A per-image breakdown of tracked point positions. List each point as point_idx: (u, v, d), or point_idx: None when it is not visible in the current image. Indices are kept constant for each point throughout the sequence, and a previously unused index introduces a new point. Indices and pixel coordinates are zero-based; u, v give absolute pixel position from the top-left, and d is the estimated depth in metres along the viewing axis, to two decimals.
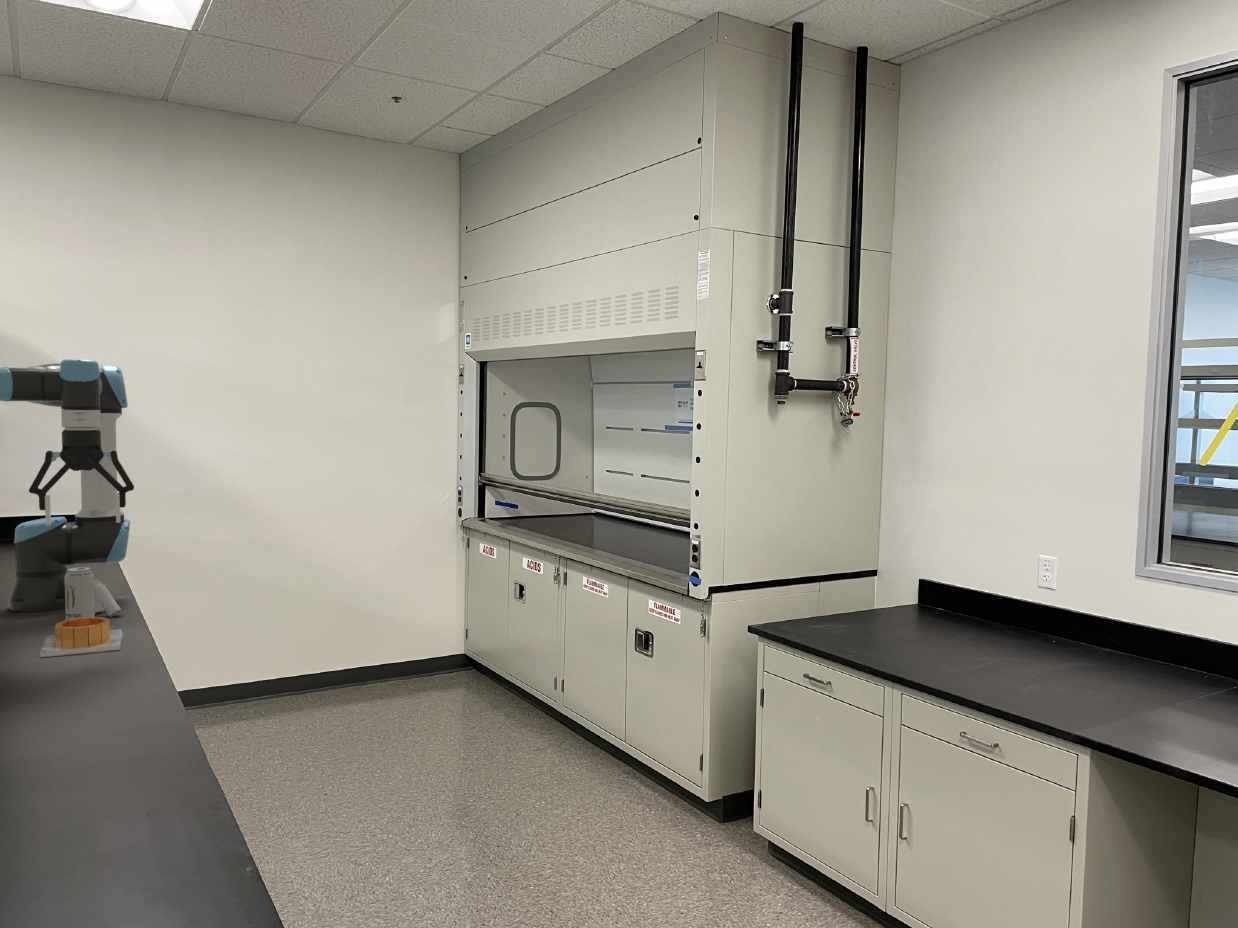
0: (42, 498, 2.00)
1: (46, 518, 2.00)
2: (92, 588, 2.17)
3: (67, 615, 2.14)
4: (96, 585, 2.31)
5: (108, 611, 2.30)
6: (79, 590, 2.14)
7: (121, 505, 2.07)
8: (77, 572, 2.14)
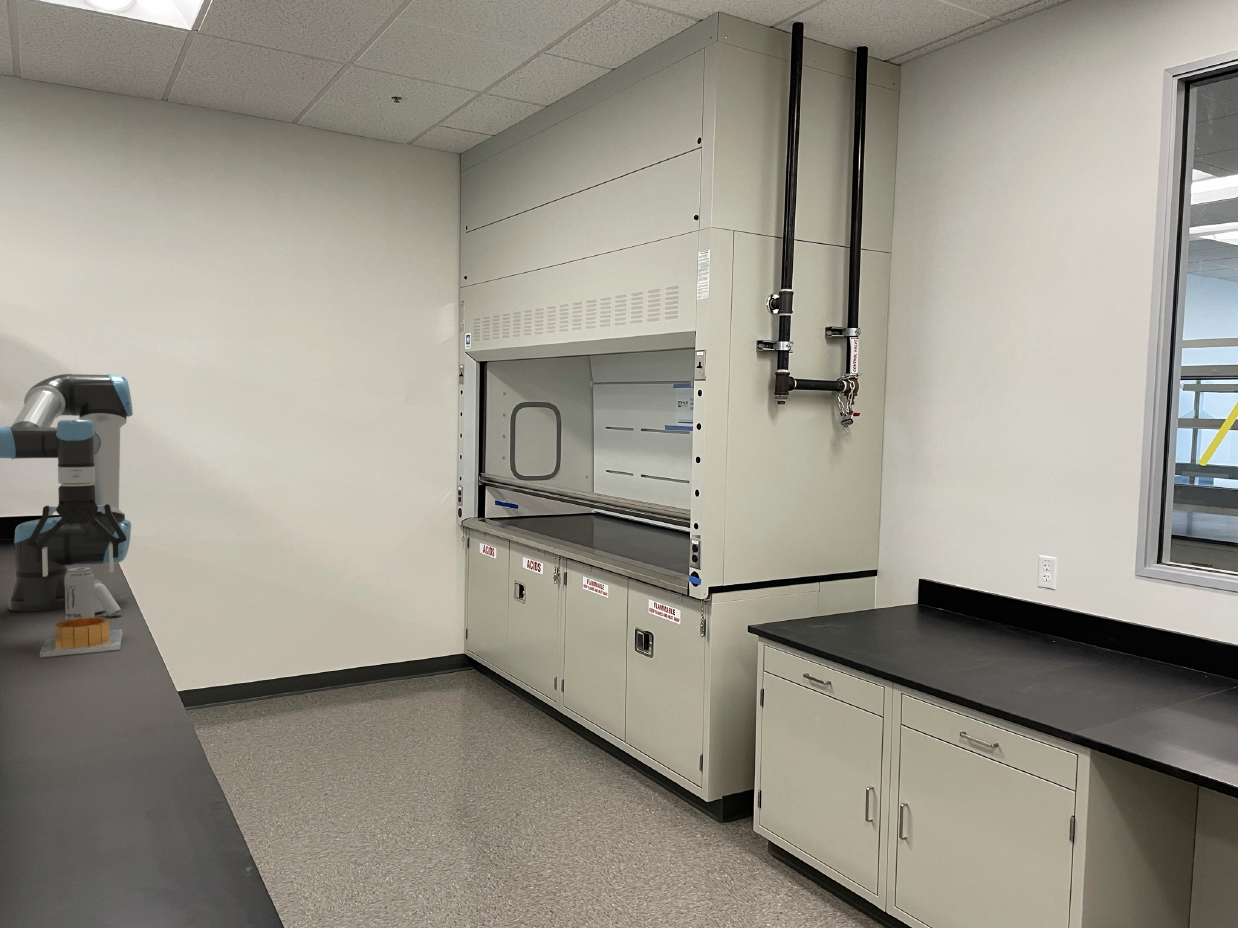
0: (39, 550, 2.12)
1: (43, 569, 2.12)
2: (92, 588, 2.17)
3: (67, 615, 2.14)
4: (96, 585, 2.31)
5: (108, 611, 2.30)
6: (79, 590, 2.14)
7: (114, 555, 2.19)
8: (77, 572, 2.14)
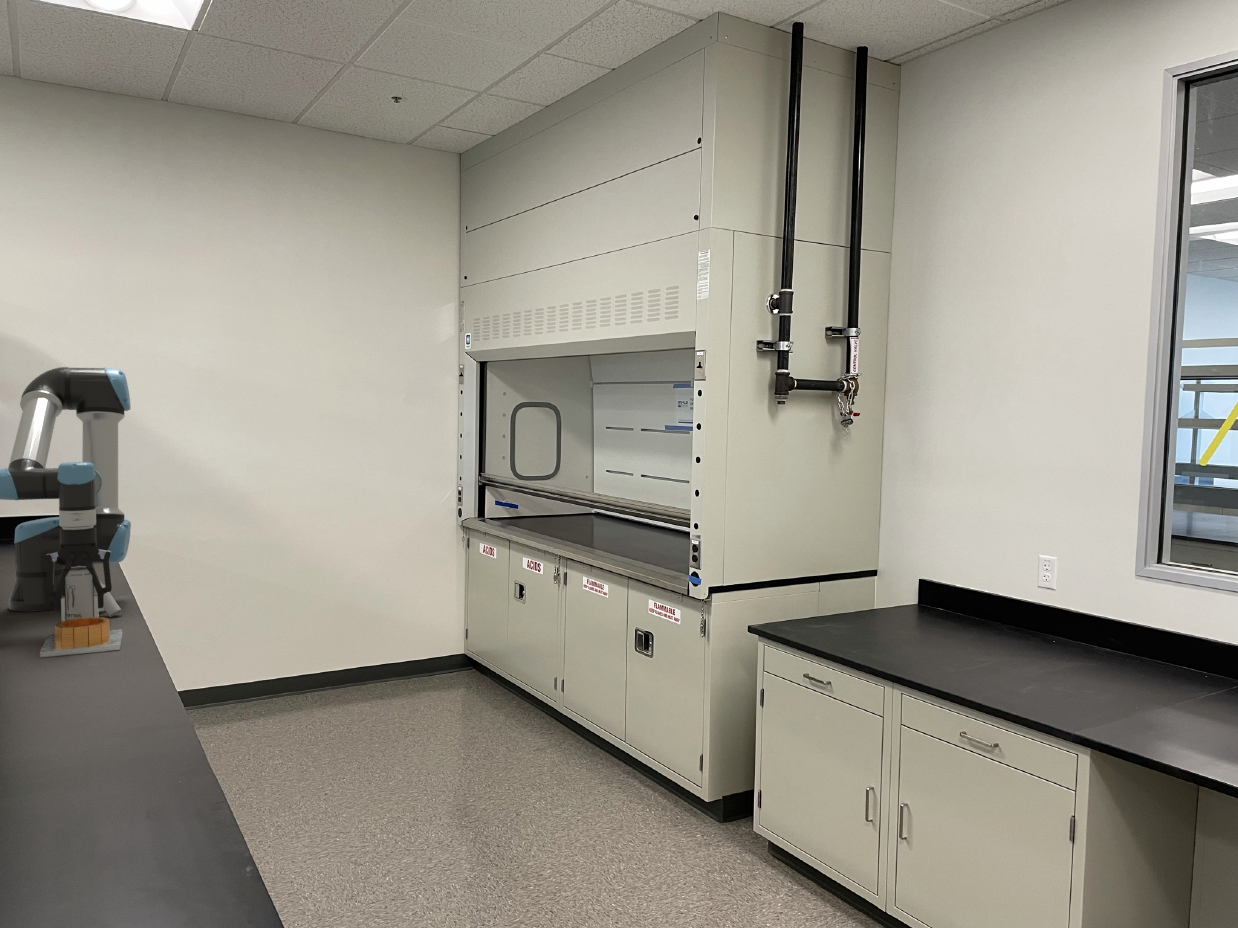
0: (58, 600, 2.14)
1: (62, 619, 2.14)
2: (92, 588, 2.17)
3: (67, 615, 2.14)
4: None
5: (108, 611, 2.30)
6: (79, 590, 2.14)
7: (99, 606, 2.18)
8: (77, 572, 2.14)
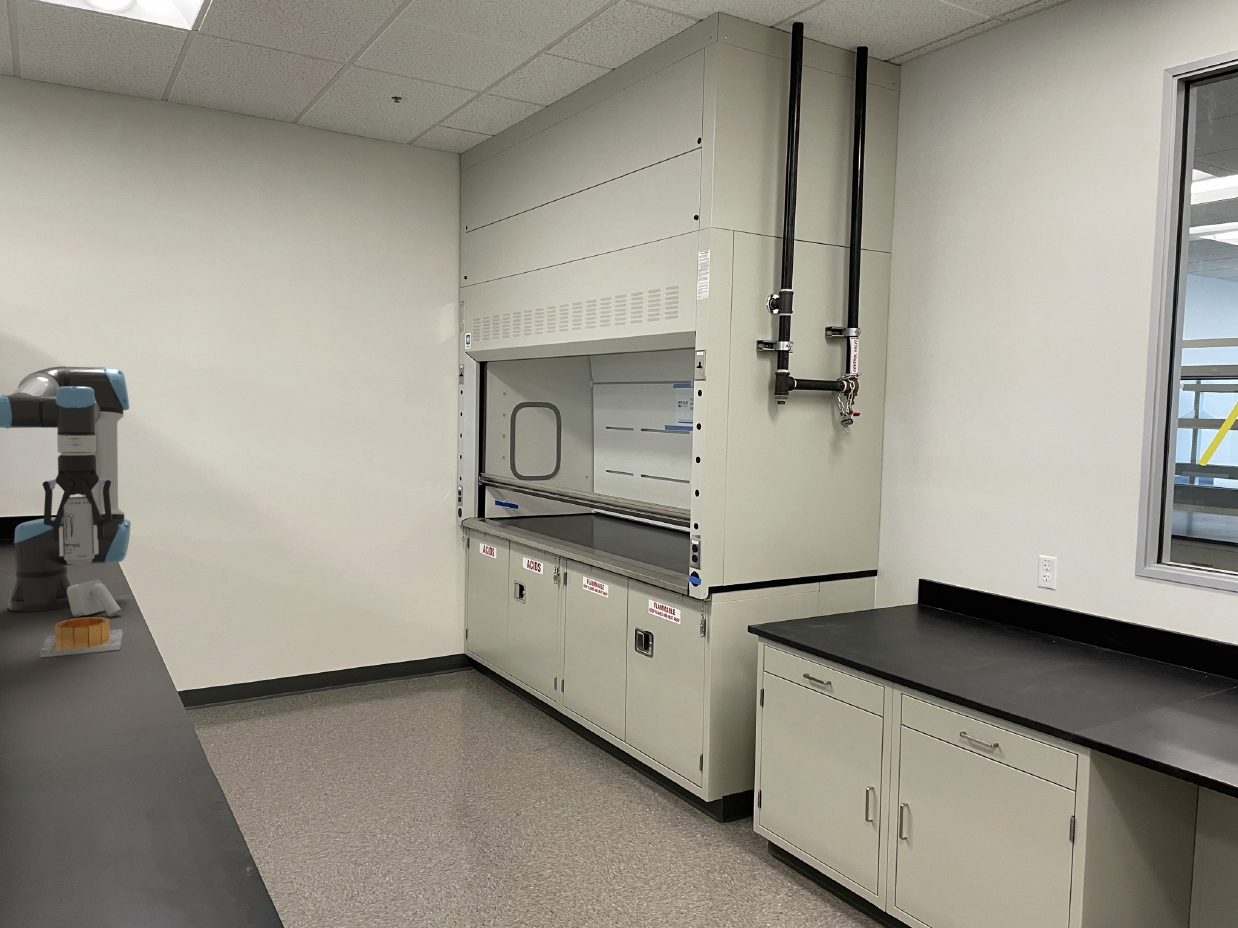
0: (56, 530, 2.06)
1: (60, 549, 2.06)
2: (91, 518, 2.08)
3: (65, 545, 2.06)
4: (96, 585, 2.31)
5: (108, 611, 2.30)
6: (78, 519, 2.06)
7: (99, 537, 2.10)
8: (76, 500, 2.06)
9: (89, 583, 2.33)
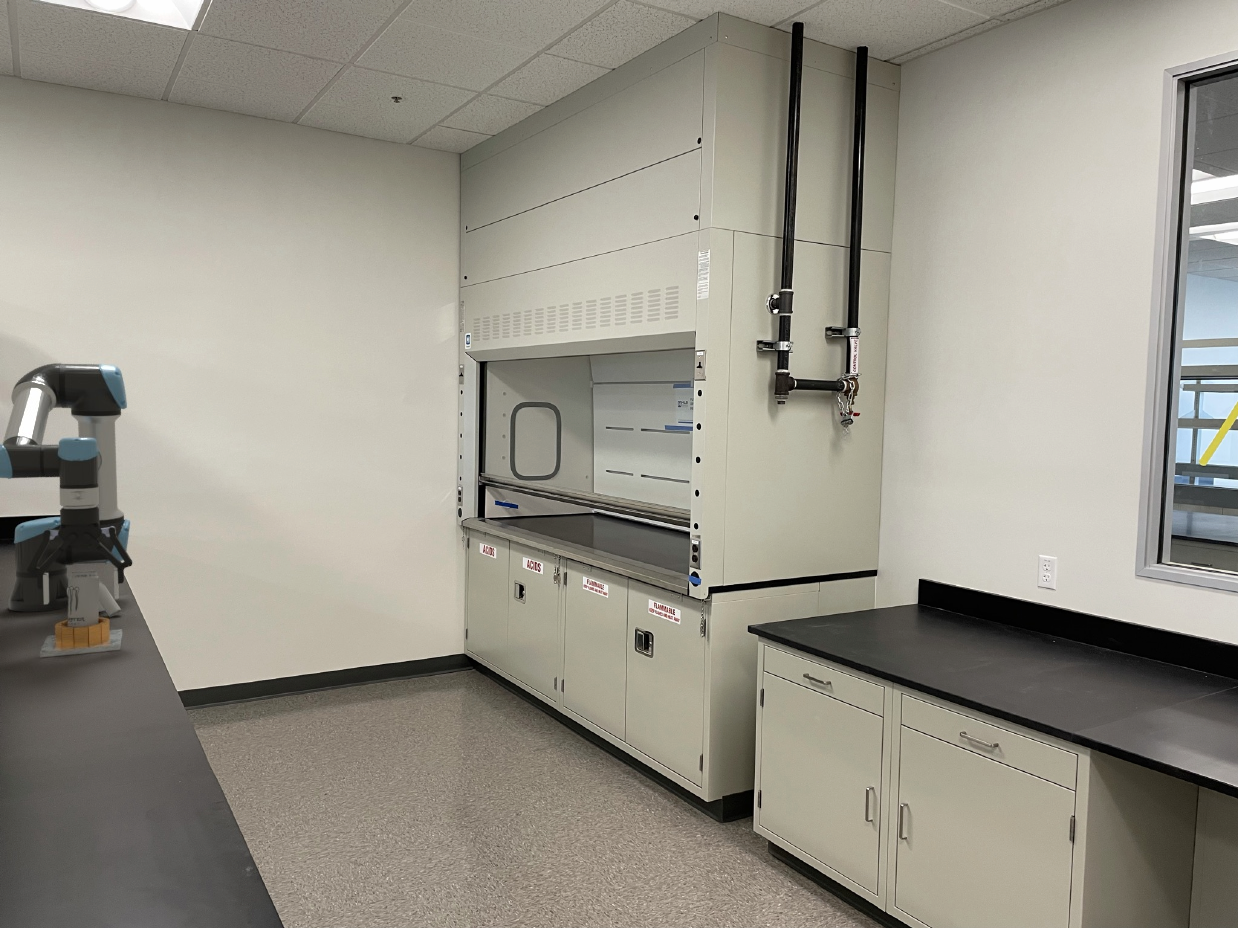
0: (40, 577, 1.99)
1: (44, 597, 1.99)
2: (97, 591, 2.06)
3: (69, 619, 2.02)
4: None
5: (108, 611, 2.30)
6: (83, 592, 2.03)
7: (119, 581, 2.06)
8: (82, 573, 2.04)
9: None
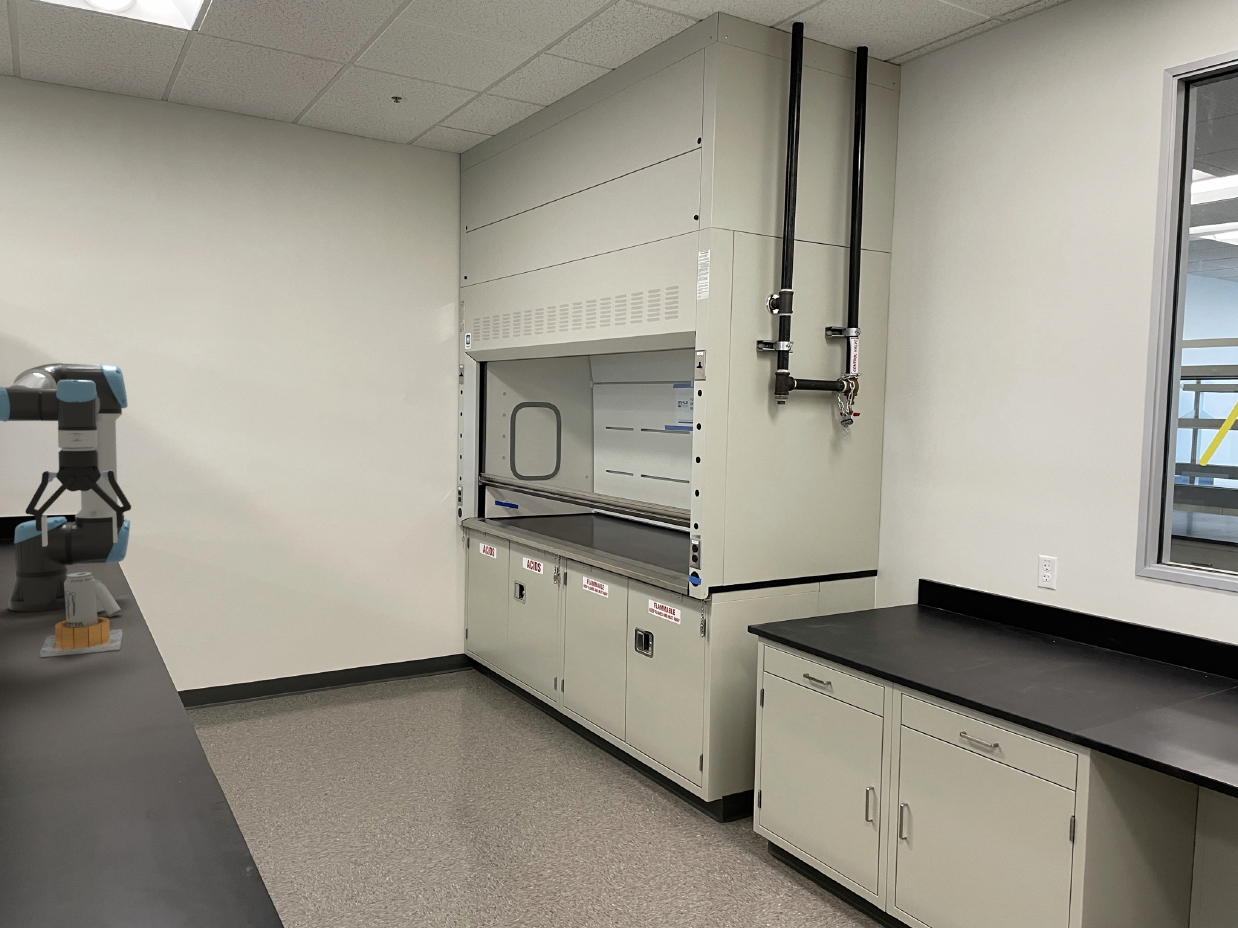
0: (39, 519, 1.99)
1: (43, 539, 1.99)
2: (94, 594, 2.04)
3: (68, 623, 2.02)
4: (96, 585, 2.31)
5: (108, 611, 2.30)
6: (80, 597, 2.01)
7: (118, 525, 2.06)
8: (77, 578, 2.01)
9: None
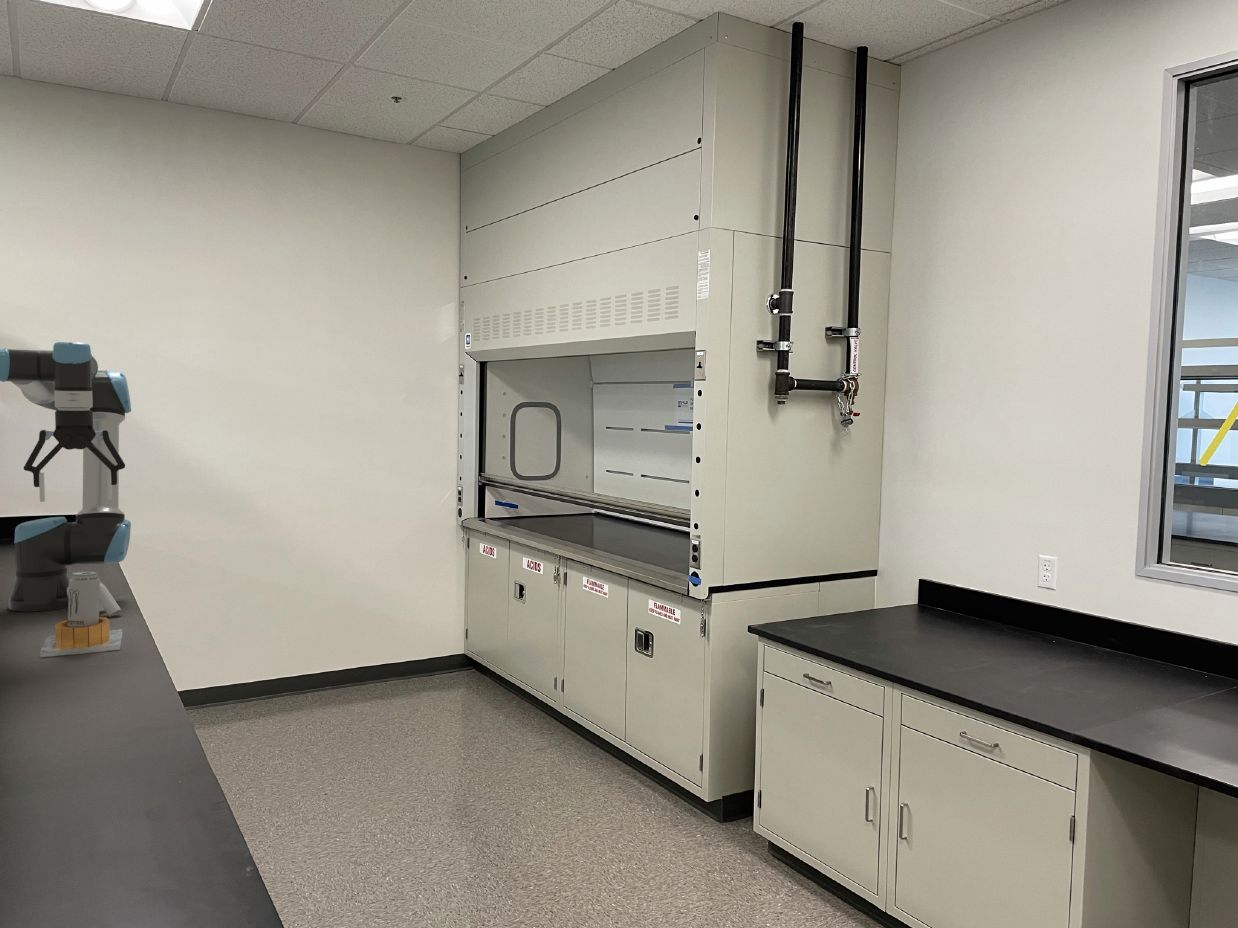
0: (36, 475, 2.07)
1: (40, 495, 2.08)
2: (97, 594, 2.04)
3: (69, 622, 2.02)
4: None
5: (108, 611, 2.30)
6: (83, 595, 2.02)
7: (113, 483, 2.15)
8: (82, 576, 2.02)
9: None
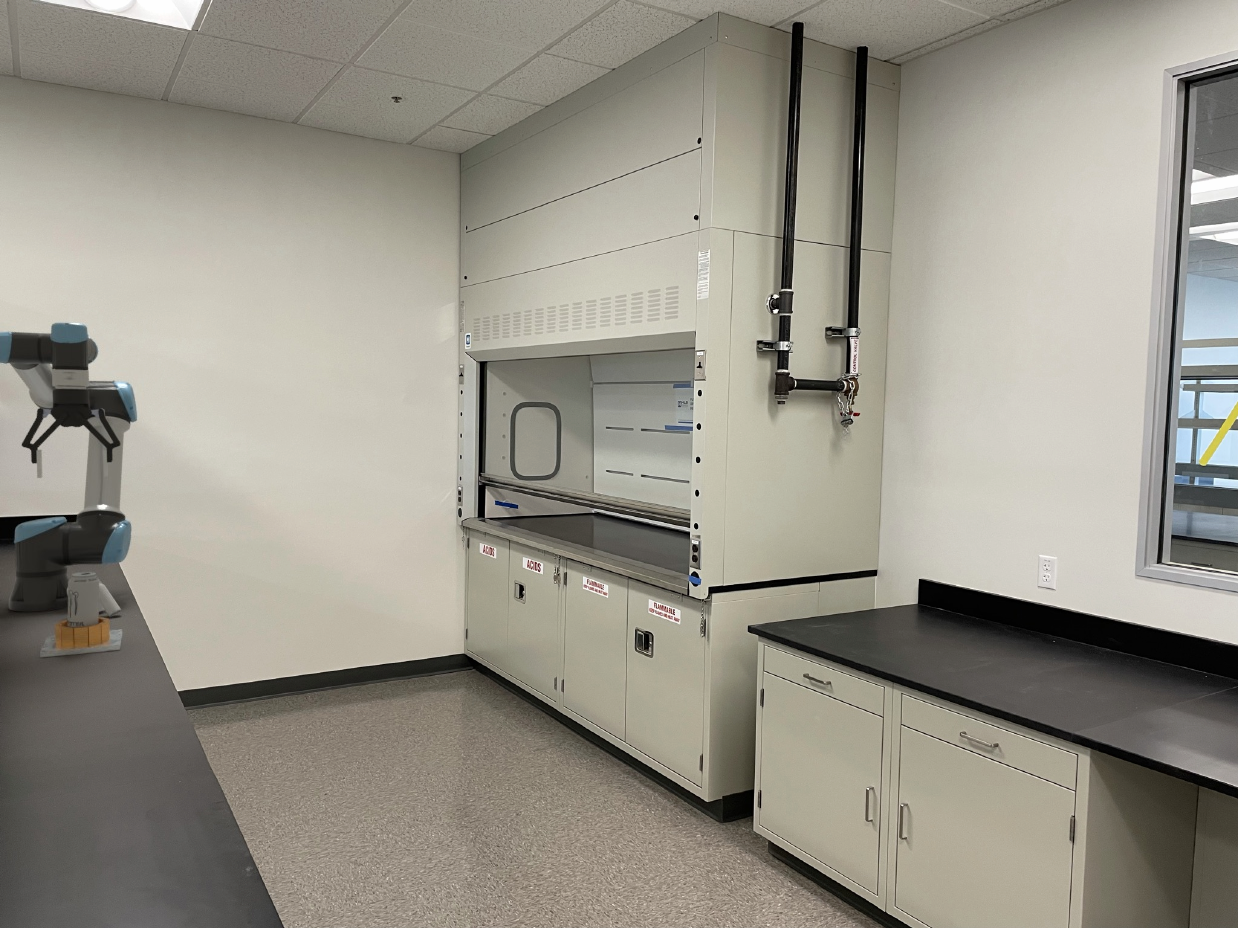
0: (34, 452, 2.13)
1: (38, 471, 2.14)
2: (97, 595, 2.04)
3: (69, 623, 2.02)
4: None
5: (108, 611, 2.30)
6: (83, 597, 2.01)
7: (108, 460, 2.21)
8: (81, 578, 2.01)
9: None
